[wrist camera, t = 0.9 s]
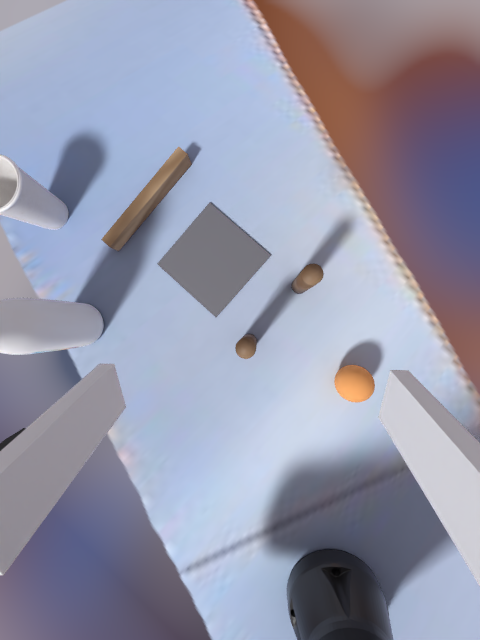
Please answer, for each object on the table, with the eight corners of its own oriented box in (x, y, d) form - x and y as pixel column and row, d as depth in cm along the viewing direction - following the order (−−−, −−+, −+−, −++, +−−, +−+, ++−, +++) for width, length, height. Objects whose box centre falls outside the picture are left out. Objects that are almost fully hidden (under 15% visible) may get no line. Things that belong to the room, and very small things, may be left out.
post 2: (310, 285, 39) (327, 273, 29) (299, 296, 39) (313, 288, 29) (298, 274, 39) (311, 259, 29) (288, 286, 40) (297, 275, 30)
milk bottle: (88, 294, 43) (-63, 271, 23) (113, 328, 42) (-18, 335, 22) (57, 321, 43) (-118, 321, 23) (81, 354, 43) (-75, 384, 23)
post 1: (259, 341, 40) (260, 347, 30) (249, 352, 40) (246, 362, 30) (248, 330, 40) (244, 334, 30) (238, 342, 40) (231, 349, 30)
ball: (371, 377, 38) (390, 387, 33) (348, 402, 39) (363, 415, 33) (345, 355, 39) (360, 360, 33) (323, 379, 39) (333, 389, 34)
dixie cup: (80, 197, 43) (26, 160, 33) (68, 242, 43) (10, 218, 33) (40, 186, 43) (-26, 147, 33) (28, 230, 44) (-41, 204, 34)
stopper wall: (191, 164, 41) (187, 154, 38) (118, 251, 42) (109, 247, 40) (183, 157, 41) (178, 146, 39) (110, 244, 42) (101, 239, 40)
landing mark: (270, 255, 40) (270, 255, 40) (216, 317, 41) (215, 317, 40) (209, 202, 41) (209, 202, 40) (157, 264, 41) (157, 264, 41)
